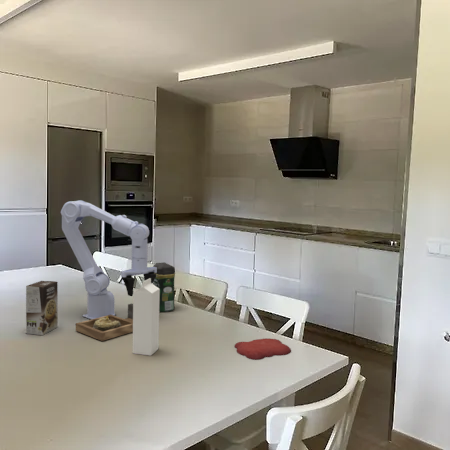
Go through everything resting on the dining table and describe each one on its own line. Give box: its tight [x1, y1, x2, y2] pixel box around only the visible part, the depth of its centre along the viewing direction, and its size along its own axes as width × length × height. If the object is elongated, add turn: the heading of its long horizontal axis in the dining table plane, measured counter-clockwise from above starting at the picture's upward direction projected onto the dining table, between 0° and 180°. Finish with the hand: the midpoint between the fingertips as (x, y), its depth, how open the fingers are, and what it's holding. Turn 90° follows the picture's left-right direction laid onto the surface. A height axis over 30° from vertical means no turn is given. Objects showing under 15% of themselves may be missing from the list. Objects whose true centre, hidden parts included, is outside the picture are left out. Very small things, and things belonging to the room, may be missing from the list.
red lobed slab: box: [233, 338, 292, 361], centre depth 146 cm, size 18×14×2 cm
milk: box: [132, 278, 160, 357], centre depth 141 cm, size 6×6×22 cm
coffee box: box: [25, 280, 59, 336], centre depth 156 cm, size 9×6×16 cm
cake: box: [93, 316, 121, 331], centre depth 159 cm, size 10×10×5 cm
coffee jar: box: [152, 262, 176, 313], centre depth 186 cm, size 10×8×19 cm
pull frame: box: [75, 303, 133, 342], centre depth 160 cm, size 20×14×6 cm
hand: (139, 294), depth 172 cm, fingers open, 7 cm apart
